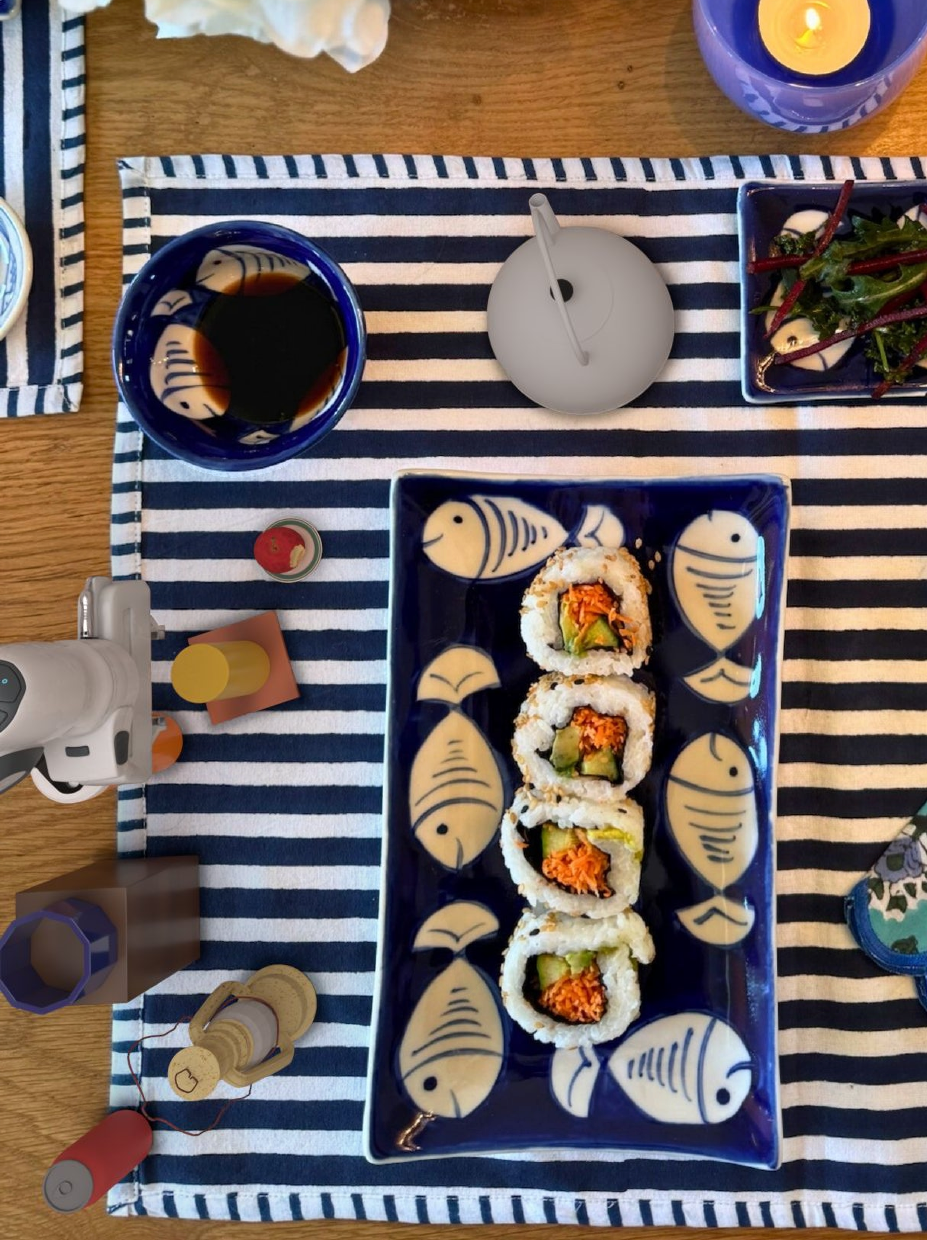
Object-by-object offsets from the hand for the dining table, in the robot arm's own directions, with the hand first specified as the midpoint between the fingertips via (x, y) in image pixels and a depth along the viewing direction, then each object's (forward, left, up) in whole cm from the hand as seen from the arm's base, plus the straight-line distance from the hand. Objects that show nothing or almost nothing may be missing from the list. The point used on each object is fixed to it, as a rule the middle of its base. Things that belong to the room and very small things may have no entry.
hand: (159, 677), depth 122 cm
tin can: (0, 0, -19) cm, 19 cm away
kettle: (+43, +41, -20) cm, 63 cm away
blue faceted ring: (-12, -28, -4) cm, 31 cm away
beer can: (-15, -54, -20) cm, 59 cm away
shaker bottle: (-11, -8, -20) cm, 24 cm away
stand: (-12, -28, -20) cm, 36 cm away
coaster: (0, 0, -20) cm, 20 cm away
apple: (+6, +14, -20) cm, 25 cm away
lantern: (+3, -40, -20) cm, 45 cm away
